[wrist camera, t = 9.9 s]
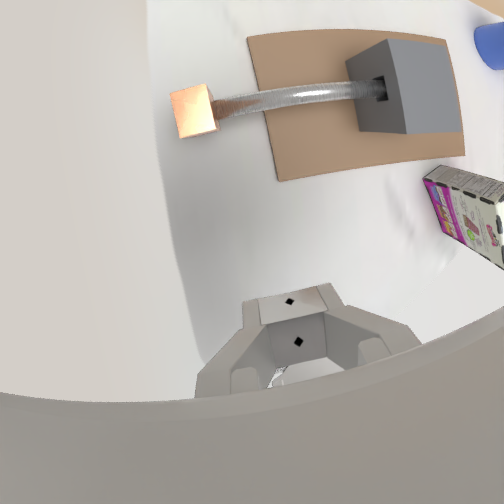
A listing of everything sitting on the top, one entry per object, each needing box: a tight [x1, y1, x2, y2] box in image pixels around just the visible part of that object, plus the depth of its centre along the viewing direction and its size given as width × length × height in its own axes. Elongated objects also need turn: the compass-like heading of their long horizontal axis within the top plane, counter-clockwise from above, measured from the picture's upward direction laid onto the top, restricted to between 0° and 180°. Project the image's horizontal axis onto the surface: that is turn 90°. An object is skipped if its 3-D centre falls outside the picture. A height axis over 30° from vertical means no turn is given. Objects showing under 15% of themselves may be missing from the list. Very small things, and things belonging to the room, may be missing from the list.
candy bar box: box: [423, 165, 504, 270], centre depth 32 cm, size 11×5×16 cm, turn 37°
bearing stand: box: [247, 29, 465, 182], centre depth 27 cm, size 20×32×13 cm, turn 102°
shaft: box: [170, 80, 388, 138], centre depth 24 cm, size 4×24×8 cm, turn 102°
